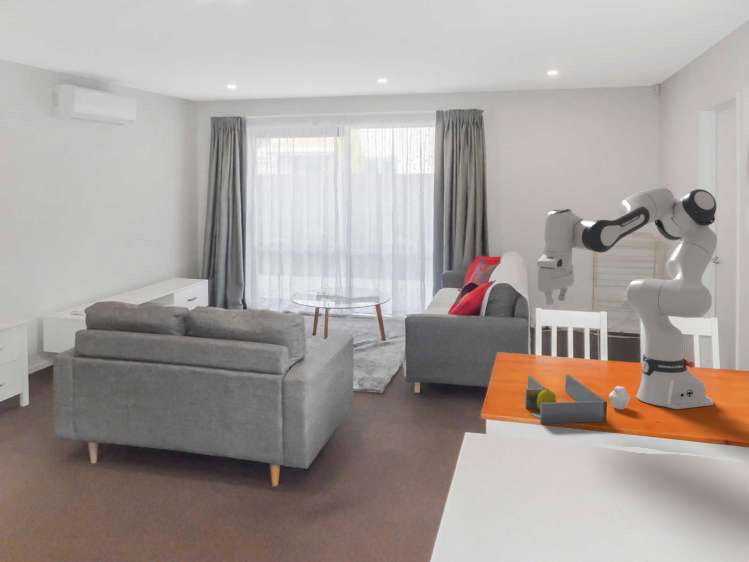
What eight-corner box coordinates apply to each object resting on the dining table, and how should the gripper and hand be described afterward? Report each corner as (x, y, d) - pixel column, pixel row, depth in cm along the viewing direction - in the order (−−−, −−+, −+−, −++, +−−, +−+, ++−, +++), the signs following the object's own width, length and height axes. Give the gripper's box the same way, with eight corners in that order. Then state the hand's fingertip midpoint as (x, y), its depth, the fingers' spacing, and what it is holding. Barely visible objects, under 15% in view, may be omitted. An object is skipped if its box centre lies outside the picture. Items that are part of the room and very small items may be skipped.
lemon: (556, 418, 180) (557, 392, 179) (537, 416, 181) (538, 390, 180) (554, 411, 185) (555, 386, 184) (535, 410, 186) (536, 385, 185)
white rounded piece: (604, 404, 192) (606, 383, 191) (623, 404, 192) (624, 382, 191) (614, 411, 186) (615, 389, 185) (633, 410, 186) (634, 388, 185)
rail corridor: (568, 391, 204) (568, 374, 204) (606, 421, 177) (607, 401, 176) (511, 393, 203) (512, 376, 202) (541, 423, 176) (541, 403, 175)
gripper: (561, 256, 205) (559, 297, 207) (534, 261, 190) (532, 305, 191) (579, 258, 201) (577, 299, 203) (553, 263, 186) (552, 307, 187)
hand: (555, 302), depth 197 cm, fingers open, 8 cm apart
